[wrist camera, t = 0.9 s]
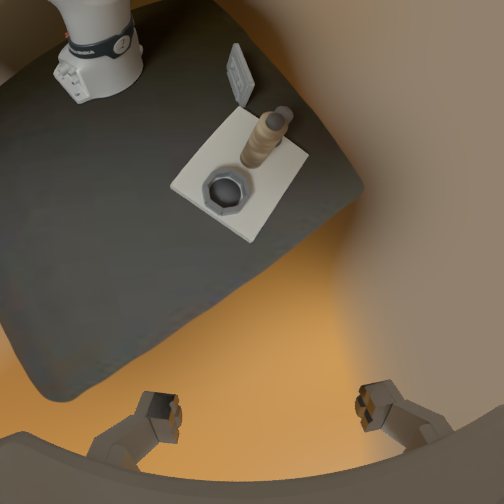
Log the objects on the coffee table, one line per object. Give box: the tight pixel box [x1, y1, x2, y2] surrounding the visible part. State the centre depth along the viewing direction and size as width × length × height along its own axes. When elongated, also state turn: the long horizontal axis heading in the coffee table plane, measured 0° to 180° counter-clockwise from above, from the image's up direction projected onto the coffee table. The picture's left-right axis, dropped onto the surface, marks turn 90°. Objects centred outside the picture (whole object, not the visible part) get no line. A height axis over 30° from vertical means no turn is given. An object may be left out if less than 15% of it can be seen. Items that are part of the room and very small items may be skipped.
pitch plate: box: [170, 106, 309, 243], centre depth 41 cm, size 16×20×10 cm
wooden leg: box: [240, 112, 288, 169], centre depth 38 cm, size 4×4×13 cm
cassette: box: [227, 44, 255, 108], centre depth 43 cm, size 12×2×8 cm, turn 16°
